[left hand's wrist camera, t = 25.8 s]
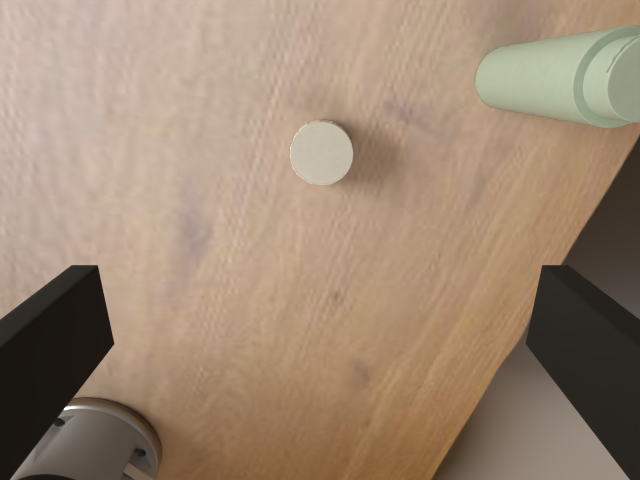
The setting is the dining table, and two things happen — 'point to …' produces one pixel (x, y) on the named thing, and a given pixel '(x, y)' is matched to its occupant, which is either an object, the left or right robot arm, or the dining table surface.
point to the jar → (567, 78)
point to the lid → (321, 152)
